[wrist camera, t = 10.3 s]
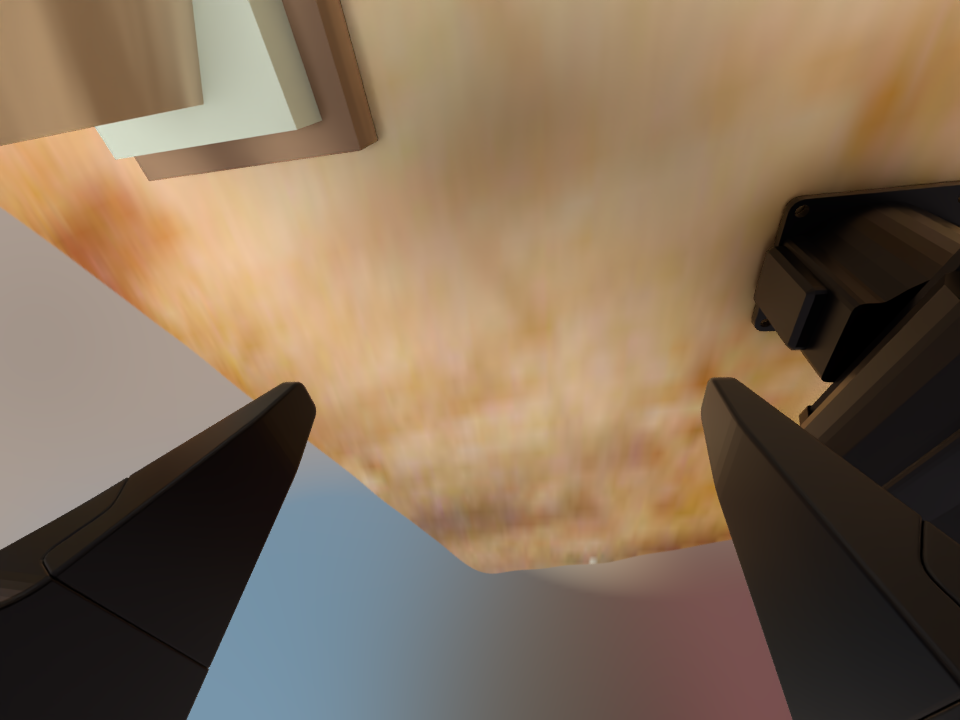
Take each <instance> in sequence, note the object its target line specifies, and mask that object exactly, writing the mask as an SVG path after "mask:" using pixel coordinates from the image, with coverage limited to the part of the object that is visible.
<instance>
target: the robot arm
mask: <svg viewBox="0 0 960 720" xmlns="http://www.w3.org/2000/svg"><path fill="white" fill-rule="evenodd" d="M959 197H960V181H956V182H946V183H935V184H924V185H914V186H903V187H892V188H882V189H871V190H860V191H850V192H839V193H828V194H818V195H807V196H800V197H796V198H794V199H793V200H791V201H790V202H789V203H788V204H787V205H786V207H785V209H784V212H783V216H782V219H781V222H780V226H779V229H778V232H777V236H776V239H775V243H774V246H773V247H772V248H770V249H769V250H768V251H767V253H766V256H765V260H764V263H763V267H762V270H761V274H760V277H759V281H758V284H757V288H756V291H755V294H754V300H755V302H756V307H755V310H754V313H753V317H752V323H753V325H754V326H755V328H756V329H757V330H759V331H776V332H777V333H778V335H779V336H780V338H781V339H782V340H783V342H784V343H785V345H786V346H787V347H788V348H789V349H791V350H800V351H801V352H802V353H803V355H804V356H805V358H806V359H807V360H808V362H809V363H810V364H811V366H812V367H813V368H814V370H815V371H816V373H817V374H818V375H819V377H820V378H821V379H822V380H823V381H824V382H834V383H833V384H832V385H831V386H830V387H829V388H828V389H827V390H826V391H825V392H824V393H823V394H822V396H821V397H820V398H819V399H818V400H817V401H816V402H815V403H814V404H813V405H812V406H810V405H809V406H807V407H806V408H805V409H804V410H803V411H802V413H801V414H800V415H799V421H800V426H799V425H798V424H796V423H795V422H793V421H792V420H791V419H789V418H788V417H787V416H785V415H784V414H783V413H781V412H780V411H779V410H777V409H776V408H775V407H773V406H772V405H771V404H769V403H768V402H766V401H765V400H764V399H762V398H761V397H760V396H758V395H757V394H756V393H754V392H753V391H752V390H750V389H749V388H748V387H746V386H745V385H744V384H742V383H741V382H739V381H738V380H737V379H735V378H731V377H714V378H711V379H710V380H709V381H708V383H707V387H706V391H705V395H704V399H703V403H702V407H701V419H702V424H703V429H704V434H705V439H706V444H707V450H708V455H709V460H710V465H711V470H712V475H713V479H714V484H715V488H716V492H717V495H718V498H719V502H720V505H721V508H722V510H723V513H724V516H725V519H726V522H727V525H728V528H729V531H730V534H731V537H732V540H733V543H734V546H735V549H736V552H737V555H738V558H739V561H740V564H741V567H742V570H743V573H744V576H745V579H746V582H747V585H748V588H749V591H750V594H751V597H752V600H753V603H754V606H755V609H756V612H757V615H758V618H759V621H760V624H761V627H762V630H763V633H764V636H765V639H766V642H767V645H768V648H769V651H770V654H771V657H772V659H773V663H774V666H775V669H776V672H777V674H778V677H779V680H780V684H781V686H782V690H783V693H784V695H785V698H786V701H787V704H788V707H789V710H790V713H791V716H792V719H793V720H960V200H958V198H959ZM803 205H805V208H804V210H803V211H802V212H801V213H799V214H795V211H796V209H797V208H799V207H800V206H803ZM764 319H768V320H767V321H766V322H763V323H761V321H762V320H764ZM315 416H316V407H315V404H314V402H313V401H312V399H311V397H310V395H309V393H308V392H307V390H306V388H305V386H304V385H303V384H302V383H300V382H284V383H282V384H280V385H278V386H277V387H275V388H273V389H272V390H270V391H268V392H267V393H265V394H263V395H262V396H260V397H259V398H257V399H255V400H254V401H252V402H250V403H249V404H247V405H245V406H244V407H242V408H240V409H239V410H237V411H236V412H234V413H232V414H231V415H229V416H227V417H226V418H224V419H222V420H221V421H219V422H217V423H216V424H214V425H212V426H211V427H209V428H208V429H206V430H204V431H203V432H201V433H199V434H198V435H196V436H194V437H193V438H191V439H189V440H188V441H186V442H185V443H183V444H181V445H180V446H178V447H176V448H175V449H173V450H171V451H170V452H168V453H166V454H165V455H163V456H161V457H160V458H158V459H157V460H155V461H153V462H152V463H150V464H148V465H147V466H145V467H143V468H142V469H140V470H139V471H137V472H135V473H134V474H132V475H131V476H130V477H129V478H125V479H123V480H122V481H120V482H119V483H117V484H115V485H114V486H112V487H110V488H109V489H107V490H105V491H104V492H102V493H100V494H99V495H97V496H95V497H94V498H92V499H90V500H89V501H87V502H85V503H83V504H82V505H80V506H78V507H77V508H75V509H73V510H71V511H69V512H68V513H66V514H64V515H62V516H61V517H59V518H57V519H56V520H54V521H52V522H50V523H48V524H47V525H45V526H43V527H41V528H39V529H37V530H36V531H34V532H32V533H30V534H28V535H26V536H25V537H23V538H21V539H19V540H17V541H16V542H14V543H12V544H10V545H8V546H7V547H5V548H3V549H1V550H0V720H187V717H188V715H189V713H190V711H191V708H192V706H193V704H194V701H195V699H196V697H197V695H198V693H199V690H200V688H201V686H202V684H203V682H204V679H205V677H206V675H207V673H208V670H209V669H208V668H209V667H210V665H211V663H212V661H213V658H214V656H215V654H216V652H217V650H218V647H219V645H220V643H221V641H222V638H223V636H224V634H225V631H226V629H227V627H228V625H229V622H230V620H231V618H232V616H233V614H234V611H235V609H236V607H237V605H238V603H239V600H240V598H241V596H242V594H243V591H244V589H245V587H246V585H247V582H248V580H249V578H250V576H251V573H252V571H253V569H254V567H255V564H256V562H257V560H258V558H259V556H260V553H261V551H262V549H263V547H264V544H265V542H266V540H267V538H268V535H269V533H270V531H271V529H272V526H273V524H274V522H275V520H276V517H277V515H278V513H279V511H280V509H281V506H282V504H283V502H284V500H285V497H286V495H287V493H288V490H289V488H290V486H291V484H292V482H293V479H294V477H295V474H296V472H297V470H298V467H299V464H300V461H301V458H302V455H303V452H304V449H305V446H306V443H307V440H308V437H309V434H310V431H311V428H312V425H313V422H314V419H315Z"/></svg>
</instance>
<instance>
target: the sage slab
mask: <svg viewBox="0 0 960 720" xmlns="http://www.w3.org/2000/svg"><path fill="white" fill-rule="evenodd" d="M192 4H193V13H194V22H195V31H196V39H197V48H198V57H199V66H200V75H201V84H202V93H203V102H204V104H203V105H198V106H193V107H188V108H183V109H179V110H174V111H169V112H164V113H159V114H154V115H149V116H144V117H139V118H134V119H130V120H125V121H120V122H115V123H110V124H105V125H100V126H95V128H96V130H97V131H98V133H99V134H100V136H101V138H102V139H103V141H104V142H105V144H106V145H107V147H108V148H109V150H110V152H111V153H112V155H113V156H114V158H115V159H122V158H128V157H134V156H140V155H146V154H152V153H158V152H165V151H171V150H177V149H183V148H189V147H195V146H201V145H207V144H213V143H219V142H225V141H232V140H238V139H244V138H250V137H256V136H262V135H268V134H274V133H280V132H286V131H293V130H298V129H300V128H303V127H306V126H309V125H311V124H314V123H317V122H319V121H322V118H321V115H320V112H319V109H318V107H317V104H316V101H315V98H314V95H313V92H312V89H311V86H310V83H309V80H308V77H307V74H306V71H305V68H304V65H303V62H302V59H301V56H300V53H299V50H298V47H297V44H296V41H295V39H294V36H293V33H292V30H291V27H290V24H289V21H288V18H287V15H286V12H285V9H284V6H283V3H282V0H192Z"/></svg>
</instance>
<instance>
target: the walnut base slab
mask: <svg viewBox="0 0 960 720" xmlns="http://www.w3.org/2000/svg"><path fill="white" fill-rule="evenodd" d="M282 3H283V6H284V9H285V12H286V15H287V18H288V21H289V24H290V27H291V30H292V33H293V36H294V39H295V41H296V44H297V47H298V50H299V53H300V56H301V59H302V62H303V65H304V68H305V71H306V74H307V77H308V80H309V83H310V86H311V89H312V92H313V95H314V98H315V101H316V104H317V107H318V109H319V112H320V115H321V118H322V121H319V122H317V123H314V124H311V125H309V126H306V127H303V128H300V129H298V130H293V131H286V132H280V133H274V134H268V135H262V136H256V137H250V138H244V139H238V140H232V141H225V142H219V143H213V144H207V145H201V146H195V147H189V148H183V149H177V150H171V151H165V152H158V153H152V154H146V155H140V156H134V157H135V159H136V161H137V162H138V164H139V165H140V167H141V169H142V170H143V172H144V174H145V175H146V177H147V179H148V180H149V181H154V180H160V179H167V178H174V177H181V176H188V175H195V174H202V173H209V172H215V171H222V170H229V169H236V168H243V167H250V166H257V165H264V164H270V163H277V162H284V161H291V160H298V159H305V158H312V157H318V156H325V155H332V154H339V153H346V152H353V151H360V150H362V149H364V148H366V147H367V146H369V145H371V144H372V143H374V142H376V141H378V139H377V135H376V132H375V128H374V124H373V121H372V117H371V113H370V110H369V106H368V102H367V99H366V95H365V91H364V88H363V84H362V80H361V77H360V73H359V69H358V66H357V62H356V58H355V55H354V51H353V47H352V44H351V40H350V36H349V33H348V29H347V25H346V22H345V18H344V14H343V11H342V7H341V3H340V0H282Z"/></svg>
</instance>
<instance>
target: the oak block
mask: <svg viewBox="0 0 960 720" xmlns="http://www.w3.org/2000/svg"><path fill="white" fill-rule="evenodd" d="M203 104H204V102H203V93H202V84H201V75H200V66H199V57H198V48H197V39H196V31H195V22H194V13H193V4H192V0H0V146H2V145H7V144H12V143H17V142H22V141H27V140H32V139H37V138H41V137H46V136H51V135H56V134H61V133H66V132H71V131H76V130H81V129H86V128H90V127H95V126H100V125H105V124H110V123H115V122H120V121H125V120H130V119H134V118H139V117H144V116H149V115H154V114H159V113H164V112H169V111H174V110H179V109H183V108H188V107H193V106H198V105H203Z"/></svg>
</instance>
